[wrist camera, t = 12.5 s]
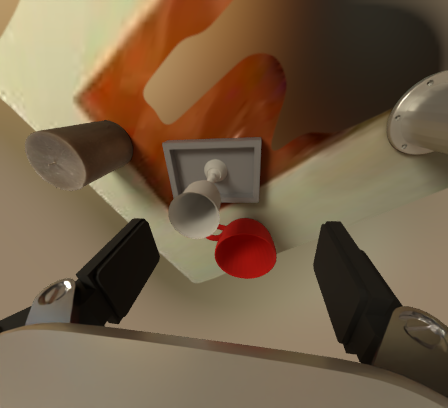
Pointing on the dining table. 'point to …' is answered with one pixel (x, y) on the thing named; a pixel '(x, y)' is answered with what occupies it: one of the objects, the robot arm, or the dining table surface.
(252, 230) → the ceramic cup
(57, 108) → the dining table surface
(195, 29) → the dining table surface
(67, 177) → the pillar candle
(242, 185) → the tray
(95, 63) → the dining table surface
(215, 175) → the chalice
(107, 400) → the robot arm
